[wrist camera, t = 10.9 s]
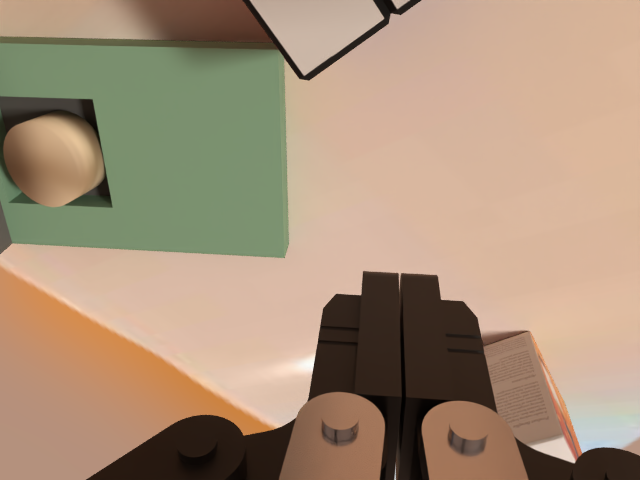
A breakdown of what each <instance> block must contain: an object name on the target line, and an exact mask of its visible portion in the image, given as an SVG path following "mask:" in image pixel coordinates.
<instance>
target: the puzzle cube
mask: <svg viewBox="0 0 640 480" xmlns="http://www.w3.org/2000/svg"><path fill="white" fill-rule="evenodd" d="M243 1H244V3H245V4H246V6H247V7H248V8H249V10H250V11H251V12H252V14H253V15H254V17H255V18H256V19H257V21H258V22H259V24H260V25H261V26H262V28H263V29H264V30H265V32H266V33H267V35H268V36H269V37H270V39H271V40H272V42H273V43H274V44H275V46H276V47H277V48H278V50H279V51H280V53H281V54H282V55H283V57H284V58H285V60H286V61H287V62H288V64H289V65H290V66H291V68H292V69H293V71H294V72H295V73H296V75H297V76H298V78H299V79H303V80H310V79H312V78H313V77H315V76H316V75H317V74H319V73H320V72H322V71H323V70H324V69H326V68H327V67H329V66H330V65H331V64H333V63H334V62H336V61H337V60H338V59H340V58H341V57H343V56H344V55H345V54H347V53H348V52H350V51H351V50H352V49H354V48H355V47H357V46H358V45H359V44H361V43H362V42H364V41H365V40H366V39H368V38H369V37H371V36H372V35H373V34H375V33H376V32H378V31H379V30H380V29H382V28H383V27H385V26H386V25H387V24H389V19H390V14H391V13H393V14H399V15H401V14H403V13H404V12H406V11H407V10H408V9H410V8H411V7H413V6H414V5H415V4H417V3H418V2H420V1H421V0H243Z"/></svg>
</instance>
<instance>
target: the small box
mask: <svg viewBox="0 0 640 480" xmlns="http://www.w3.org/2000/svg"><path fill="white" fill-rule="evenodd" d="M483 347H484V355H485V357H486V361H487V366H488V371H489V375H490V380H491V385H492V389H493V394H494V399H495V403H496V408H497V412H498V415H500V416H501V417H502V418H503V419H504V420H505V421H506V422H507V423H508V425H509V426H510V428H511V430H512V432H513V434H514V437H516V438H517V439H518V440H519V441H521V442H522V443H524V444H526V445H527V446H529V447H531V448H533V449H535V450H537V451H540V452H542V453H545V454H548V455H551V456H554V457H557V458H560V459H563V460H566V461H569V462H572V463H575V461H576V460H577V458H578V457H579V456H580V455H581V454H582V452H581V449H580V446H579V443H578V440H577V437H576V435H575V432H574V429H573V426H572V423H571V420H570V417H569V414H568V411H567V408H566V405H565V403H564V400H563V399H562V397H561V395H560V393H559V391H558V389H557V387H556V385H555V383H554V381H553V379H552V377H551V375H550V373H549V370H548V368H547V366H546V364H545V362H544V359H543V357H542V355H541V353H540V351H539V349H538V347H537V344H536V342H535V340H534V338H533V336H532V334H531V332H530V331H528V332H525V333H522V334H519V335H516V336H513V337H510V338H507V339H504V340H501V341H498V342H495V343H492V344H489V345H486V346H483Z"/></svg>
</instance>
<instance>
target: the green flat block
mask: <svg viewBox="0 0 640 480" xmlns="http://www.w3.org/2000/svg"><path fill="white" fill-rule="evenodd" d="M59 110H63V111H69V112H72V113H74V114H77V115H78V116H80V117H82V118H83V119H84V120H86V121H87V122H88V123H89V124H90V125H91V126H92V127H93V128H94V129H95V131H96V132H97V133H98V135H99V137H100V141H101V147H102V152H103V158H104V163H105V168H106V176H105V178H104V180H103V181H102V182H101V184H100V185H98V186H97V187H96V188H94V189H92V190H90V191H88V192H87V193H85V194H83V195H81V196H80V197H78V198H76V199H74V200H72V201H71V202H69V203H67V204H65V205H63V206H60V207H48V206H44V205H41V204H39V203H37V202H35V201H34V200H32V199H30V198H29V197H28V196H27V195H25V194H24V193H23V192H22V191H21V190H20V189H19V187H18V186H17V185H16V184H15V182H14V181H13V179H12V177H11V175H10V174H9V171H8V169H7V166H6V163H5V159H4V153H3V146H4V140H5V137H6V135H7V133H8V132H9V130H10V129H11V128H12V127H14V126H16V125H18V124H20V123H23V122H26V121H29V120H31V119H34V118H37V117H40V116H42V115H45V114H48V113H51V112H53V111H59ZM12 243H17V244H35V245H54V246H72V247H91V248H110V249H128V250H147V251H165V252H184V253H202V254H221V255H239V256H258V257H277V258H285V255H286V251H287V248H288V245H289V234H288V196H287V158H286V121H285V83H284V57H283V55H282V54H281V53H280V51H279V50H278V48H277V47H276V46H275V44H274V43H263V42H219V41H175V40H131V39H86V38H42V37H0V254H1V253H2V252H3V251H4V250H5V249H7V248H8V247H9V246H10V245H11V244H12Z"/></svg>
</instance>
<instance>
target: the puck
mask: <svg viewBox="0 0 640 480" xmlns="http://www.w3.org/2000/svg"><path fill="white" fill-rule="evenodd" d="M3 153H4V159H5V163H6V166H7V169H8V171H9V174H10V175H11V177H12V179H13V181H14V182H15V184H16V185H17V186H18V187H19V189H20V190H21V191H22V192H23V193H24V194H25V195H27V196H28V197H29V198H30V199H32V200H34V201H35V202H37V203H39V204H41V205H44V206H48V207H60V206H63V205H65V204H67V203H69V202H71V201H72V200H74V199H76V198H78V197H80V196H81V195H83V194H85V193H87V192H88V191H90V190H92V189H94V188H96V187H97V186H98V185H100V184H101V182H102V181H103V180H104V178H105V176H106V168H105V163H104V158H103V152H102V147H101V141H100V137H99V135H98V133H97V132H96V131H95V129H94V128H93V127H92V126H91V125H90V124H89V123H88V122H87V121H86V120H84V119H83V118H82V117H80V116H78V115H77V114H74V113H72V112H69V111H63V110H59V111H53V112H51V113H48V114H45V115H42V116H40V117H37V118H34V119H31V120H29V121H26V122H23V123H20V124H18V125H16V126H14V127H12V128H11V129H10V130H9V132H8V133H7V135H6V137H5V140H4V146H3Z"/></svg>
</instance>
